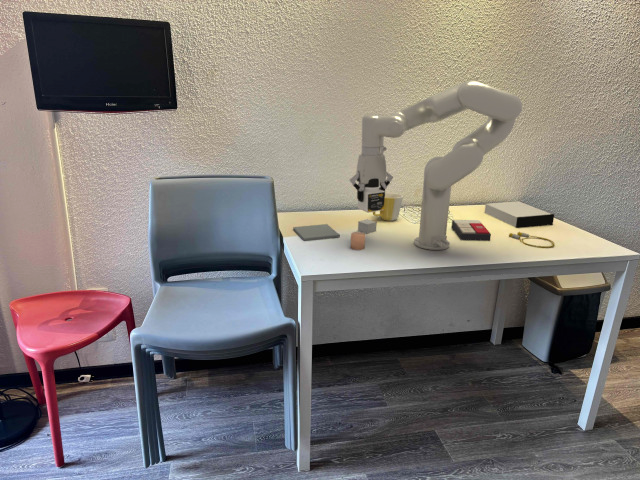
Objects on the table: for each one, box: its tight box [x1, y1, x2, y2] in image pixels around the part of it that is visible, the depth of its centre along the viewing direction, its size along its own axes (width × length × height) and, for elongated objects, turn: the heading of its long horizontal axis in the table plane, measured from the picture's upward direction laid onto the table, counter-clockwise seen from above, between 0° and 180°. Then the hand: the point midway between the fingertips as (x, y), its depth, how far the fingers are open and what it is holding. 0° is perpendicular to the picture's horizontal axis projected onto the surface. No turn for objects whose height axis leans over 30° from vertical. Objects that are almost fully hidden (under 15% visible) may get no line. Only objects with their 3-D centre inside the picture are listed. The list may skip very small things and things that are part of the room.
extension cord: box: [508, 231, 555, 249], centre depth 184 cm, size 12×16×2 cm
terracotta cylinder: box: [350, 231, 366, 251], centre depth 174 cm, size 5×5×5 cm
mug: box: [372, 191, 404, 222], centre depth 206 cm, size 14×10×10 cm
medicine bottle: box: [357, 178, 386, 214], centre depth 177 cm, size 7×7×12 cm
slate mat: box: [292, 223, 341, 242], centre depth 188 cm, size 14×14×1 cm
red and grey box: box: [451, 219, 492, 242], centre depth 190 cm, size 11×4×15 cm
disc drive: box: [484, 200, 555, 229], centre depth 211 cm, size 18×22×5 cm
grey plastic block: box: [357, 218, 378, 235], centre depth 192 cm, size 5×5×4 cm
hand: (371, 199), depth 178 cm, fingers closed on medicine bottle, 7 cm apart
